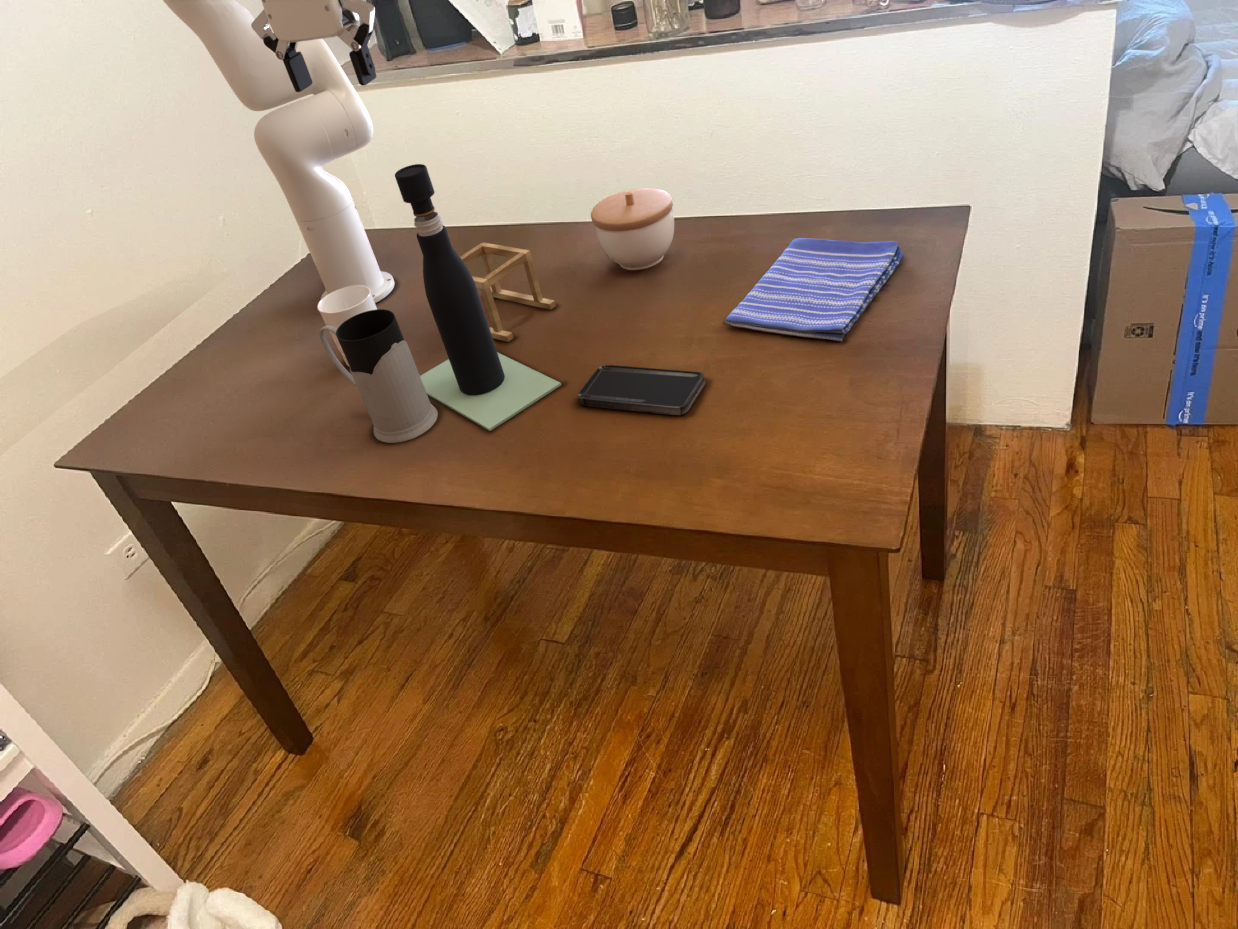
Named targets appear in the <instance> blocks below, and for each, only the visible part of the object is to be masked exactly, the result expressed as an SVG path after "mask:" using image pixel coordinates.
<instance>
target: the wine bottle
mask: <svg viewBox="0 0 1238 929" xmlns="http://www.w3.org/2000/svg"><path fill="white" fill-rule="evenodd" d="M394 178H395V180H396V184H397V187H398V189H399V192H400V195H401V199H402V200H403V203H406V204H410V206H411V209H412V214H413V216H414V219H413V221H414V223H413V225H414V227H415V231H416V239H417V243H418V245H419V248H420V252H421V254H422V278H423V286H424V292H425V297H426V299H427V302H428V306H429V308H430V310H431V313H432V316H433V319H434V322H435V324H436V327H437V330H438V333H439V335H440V339H441V341H442V344H443V347H444V350H445V352H446V355H447V358H448V359H449V361H450V364H451V366H452V369H453V372H454V375H455V378H456V380H457V383H458V386H459V389H460V391H461V392H462V393H464V394H467V395H481V394H485V393H488V392H490V391H492V390H494V389H496V388H497V387H499V386H500V385H501V384H502V382H503V381H504V378H505V375H504V372H503V369H502V366H501V363H500V359H499V356H498V353H499V352H498V350H497V348H496V343H495V342H494V338H492V334H491V331H490V328H489V327H490V325H489V322H488V319H487V316H486V313H485V310H484V306H483V303H482V300H481V297H480V294H479V291H478V288H476V285H475V282H474V279H473V277H472V276H473V275H472V274H471V272H470V270H469V268H468V266H467V265H465V263H464V262H463V260H462V259H461V256H460V255H459V253H458V252H457V251H456V250H455V247H453V245H452V241H451V239H450V236H449V233H448V229H447V227H446V226H445V225H443V221H442V217H441V215H439V212H437V211H435V210H436V207H435V206H434V203H433V201H432V197H433V196H434V195H435V194H436V193H435V192H436V191H435V189H434V186H433V183H432V179H431V176H430V174H429V170H428V167H427V165H425V164H423V163H414V164H411V165H407V166H405V167H402V168H400V169H398V170H397V171H396V172H395V173H394ZM497 352H498V353H497Z"/></svg>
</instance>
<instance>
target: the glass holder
mask: <svg viewBox="0 0 1238 929" xmlns="http://www.w3.org/2000/svg"><path fill="white" fill-rule="evenodd" d="M326 330H327V331H328V332H329V331H331V332H332V333H334V334H335V335H336V336H337V339H338V341H339V343H340V345H341V348H342V350H343V352H344V355H345V357H346V359H347V361H348V364H349V366H350V367H349V366H348V367H349V371H348V370H347V369H346V368H345V367H344V365H343V364H342V363H341V362H340V360H339V359H338V358H337V356H336V355H335V353H334V351H333V350H332V348H331V346H330V344H329V342H328V340H327V338H326V337H327V336H326V335H325V331H326ZM318 332H319V340H320V341H321V344H322V346H323V348H324V350H325V352H326V354H327V355H328V357H329V358H330V360H331V361H332V363H333V364H334V365H335V367H336V369H338V370H339V372H340V373H341V374H342V375H343V376H344V377H345V378H346V379H347V380H348V381H349V382H351V384H353V385H354V386H355V387H356V388H357V390H358V392H359V394H360V397H361V399H362V401H363V403H364V406H365V408H366V410H367V412H368V416H369V417H370V420H371V422H372V425H373V435H374V437H375V439H377V440H378V441H379V442H383V443H387V444H389V443H390V444H395V443H403V442H407V441H411V440H412V439H415V438H417V437H419V436H421V435H423V434H424V433H426V432H428V431H429V430H430V429H431V428H432V427H433V426H434V424H435V423H436V422H437V420H438V416H439V412H438V410H437V408H436V407H435V406H434V405H433V404H432V403H431V401H430V398H429V395H427V393H426V391H425V388H424V385H423V383H422V380H421V378H420V376H421V374H420V373H419V370H418V368H417V365H416V363H415V360H414V357H413V355H412V352H411V349H410V348H409V345H408V342H407V341H406V339H405V338H404V336H403V333H402V331H401V328H400V325H399V323H398V320H397V317H396V316H395V313H394V312H393V311H391V310H389V309H382V308H381V309H379V308H377V310H370V311H366V312H363V313H360V314H357V315H355V316H353V317H351V318H349V319H348V320H346V321H345V322H343V323H342V324H341V325H340V326H339V327H338V329H336V328H335V327H333V326H329V325H327V326H326V325H325V326H323V327H321V328H320V330H319V331H318Z"/></svg>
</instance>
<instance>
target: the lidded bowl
mask: <svg viewBox="0 0 1238 929" xmlns="http://www.w3.org/2000/svg"><path fill="white" fill-rule="evenodd" d="M673 206H674V204H673V198H672V195H670V193H669V192H667V191H665V190H664V189H659V188H654V187H653V188H652V187H644V188H643V187H641V188H633V189H628V190H624V191H621V192H617V193H614V194H612V195H609V196H607V197H605V198H603V199H601V200H600V201H599V202H598V203H596V204H595V205H594V206H593V207H592V209H591V211H590V219H591V222H592V224H593V227H594V232H595V235H596V238H597V241H598V244H599V245H600V247H601V249H602V251H603V252H604V254H605V255H606V256H607V257H608V258H609V259H610V260H611V261H613V262H614V263H616V264H618V265H619V266H620V268H622V269H624V270H627V271H640V270H645V269H649V268H651V267H653V266H656V265H658V264H660V263H661V262H662V261H663V259H664V257H665V254H666V253H667V252H668V251H669V249H670V247H671V244H672V243H673V239H674V236H675V216H674V215H675V214H674V209H673Z"/></svg>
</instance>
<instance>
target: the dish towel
mask: <svg viewBox="0 0 1238 929" xmlns="http://www.w3.org/2000/svg"><path fill="white" fill-rule="evenodd" d="M901 250H902V249H901V247H900V243H899V241H897V240H884V241H883V240H882V241H869V242H866V241H865V242H861V241H853V240H852V241H851V240H838V239H837V240H836V239H834V240H833V239H824V238H808V237H799V238H794V239H792V241H791V242H790V243H789V244H788V246H786V248H785V249H784V250H783V252H782V254H781V255H780V256H779V257H778V258H777V259H776V260H775V262H774V263H773V264H772V265H771V267H770V268H769V269H768V270H767V271H766V272H765V274H763V275H762V276H761V278H760V279H759V280H758V281H757V283H755V285H754V286H753V288H752V289H751V290H750V291H749V292H748V293H747V294H746V295H745V297H744V298H742V301H740V302H738V305H737V306H736V307H734V309H732V311H730V313H729V315H727V316H726V318H725V319H724V320H723V323H725V324H726V325H729V326H732V327H736V328H741V329H747V330H752V331H759V332H765V333H773V334H781V335H787V336H794V337H801V338H811V339H821V340H828V341H834V342H835V341H836V342H843V340H844V337H845V336H846V335H847V333H848V332H849V331H850V329H851V328H852V327H853V326H854V325H855V323H856V322H857V321H858V319H859V318H860V317H861V315H862V314H863V313H864V312H865V310H866V309H867V307H868V306H869V305H870V303H871V302H872V300H873V299H874V298H875V297H876V296H877V294H878V293H879V292H880V290H881V289H882V287H883V286H884V285H885V284H886V282H888V279H889V278H890V277H891V276H892V274H893V273H894V271H895V269H896V268H897V267H898V266H899V264H900V262H901V260H902V258H903V257H904V254H905V253H904V252H901Z"/></svg>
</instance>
